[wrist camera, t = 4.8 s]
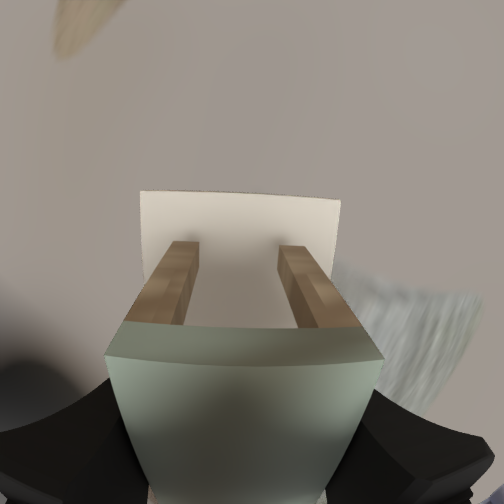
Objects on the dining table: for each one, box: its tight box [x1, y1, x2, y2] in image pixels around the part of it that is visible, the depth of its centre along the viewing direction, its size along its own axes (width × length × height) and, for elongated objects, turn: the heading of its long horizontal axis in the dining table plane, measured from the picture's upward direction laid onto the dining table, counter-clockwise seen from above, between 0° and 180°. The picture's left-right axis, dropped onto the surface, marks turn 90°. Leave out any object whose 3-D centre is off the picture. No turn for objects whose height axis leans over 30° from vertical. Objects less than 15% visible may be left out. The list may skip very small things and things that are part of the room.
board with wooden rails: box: [104, 241, 385, 504], centre depth 9 cm, size 5×7×7 cm
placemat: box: [140, 190, 341, 328], centre depth 15 cm, size 11×9×1 cm
